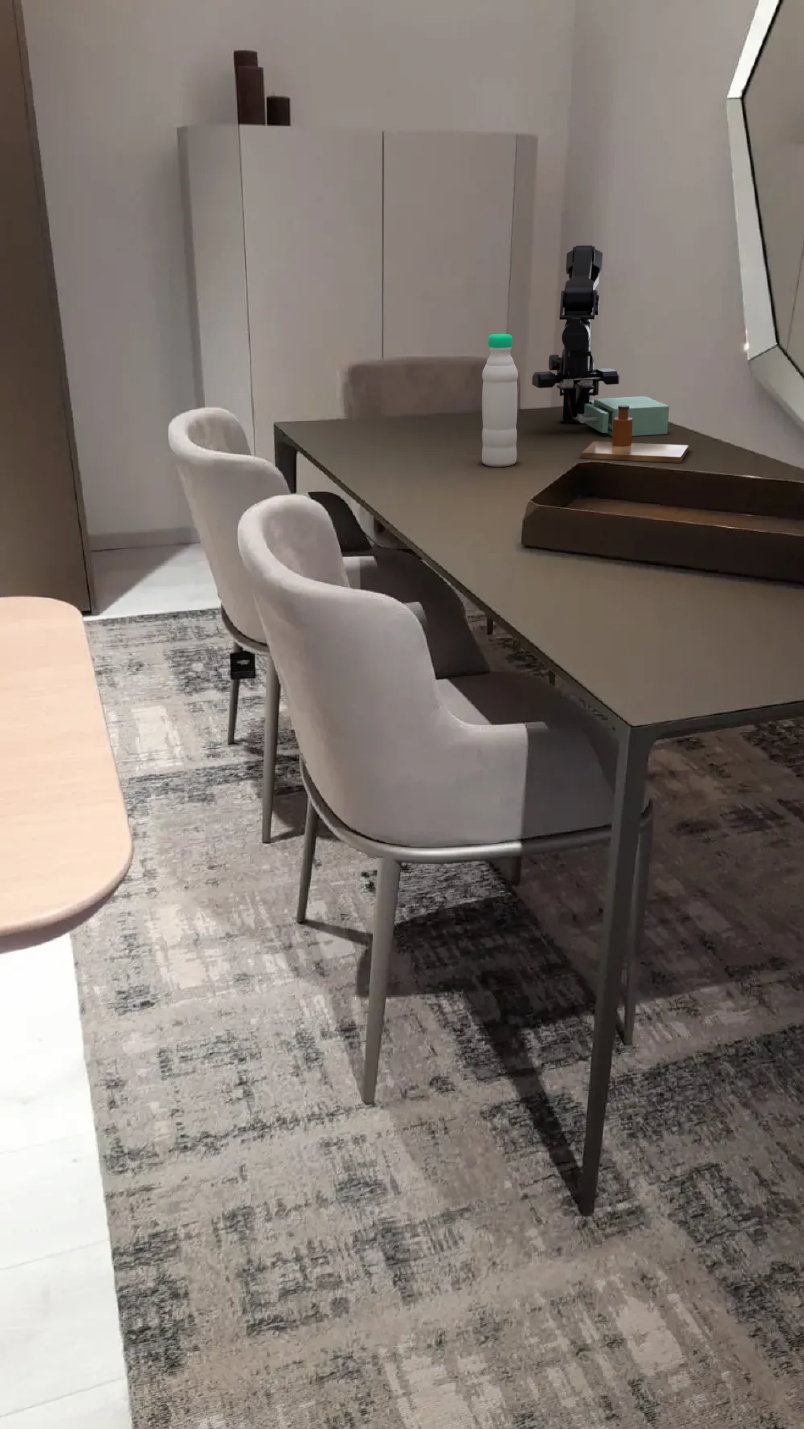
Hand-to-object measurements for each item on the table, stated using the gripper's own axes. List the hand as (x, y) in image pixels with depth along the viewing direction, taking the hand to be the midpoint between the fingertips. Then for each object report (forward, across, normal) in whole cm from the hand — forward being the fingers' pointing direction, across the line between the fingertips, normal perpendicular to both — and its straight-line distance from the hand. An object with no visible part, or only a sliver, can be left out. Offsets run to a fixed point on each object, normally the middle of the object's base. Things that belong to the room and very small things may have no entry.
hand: (574, 417), depth 250 cm
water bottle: (+4, +24, +27) cm, 36 cm away
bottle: (+2, -4, +22) cm, 22 cm away
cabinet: (+3, -13, 0) cm, 14 cm away
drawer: (+3, -8, 0) cm, 9 cm away
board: (+3, -5, +26) cm, 27 cm away
